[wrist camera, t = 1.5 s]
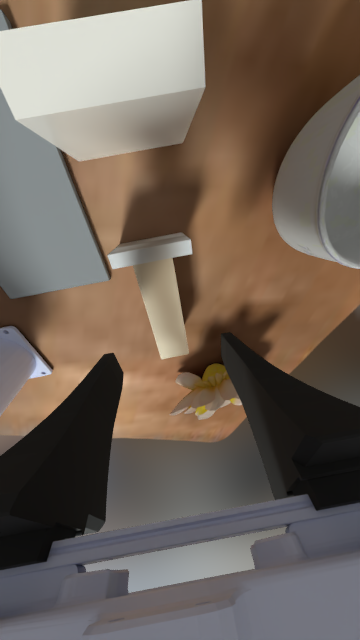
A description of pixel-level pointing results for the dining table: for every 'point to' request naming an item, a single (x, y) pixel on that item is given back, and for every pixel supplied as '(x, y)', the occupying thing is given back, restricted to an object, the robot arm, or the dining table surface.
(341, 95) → the teacup
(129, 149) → the tile
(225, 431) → the dining table surface
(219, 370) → the decorative flower
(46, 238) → the mat
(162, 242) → the pusher
